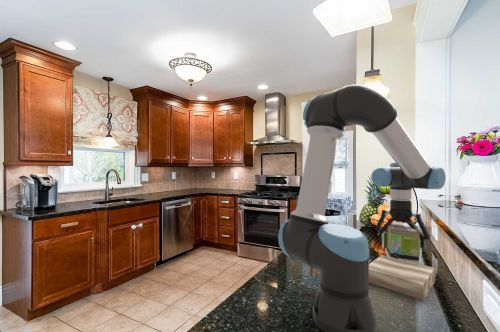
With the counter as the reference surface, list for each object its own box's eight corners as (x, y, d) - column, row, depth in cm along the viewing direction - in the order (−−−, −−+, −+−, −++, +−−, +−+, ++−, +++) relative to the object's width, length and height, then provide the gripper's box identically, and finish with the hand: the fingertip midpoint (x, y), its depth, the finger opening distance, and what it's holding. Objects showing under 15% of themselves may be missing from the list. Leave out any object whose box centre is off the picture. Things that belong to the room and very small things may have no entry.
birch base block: (423, 301, 72) (423, 284, 72) (364, 282, 84) (363, 267, 84) (435, 282, 84) (435, 267, 84) (381, 267, 96) (381, 255, 96)
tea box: (420, 270, 92) (420, 231, 92) (389, 266, 96) (389, 228, 96) (411, 256, 106) (411, 222, 106) (385, 253, 110) (384, 220, 110)
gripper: (439, 201, 95) (439, 257, 95) (373, 196, 113) (373, 243, 113) (435, 203, 90) (435, 262, 90) (366, 197, 108) (366, 246, 107)
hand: (401, 251), depth 101 cm, fingers closed on tea box, 12 cm apart
